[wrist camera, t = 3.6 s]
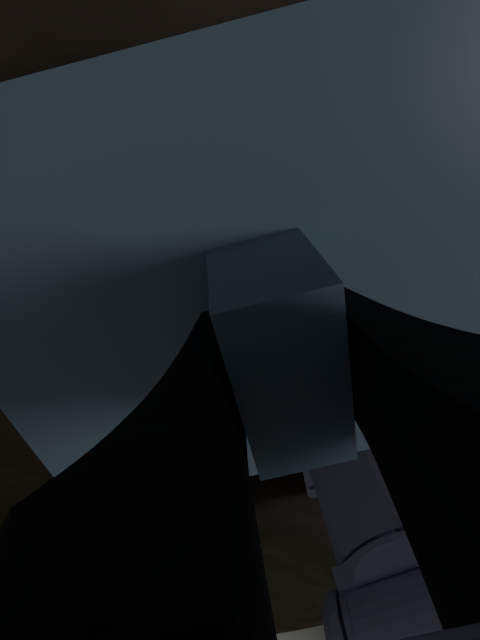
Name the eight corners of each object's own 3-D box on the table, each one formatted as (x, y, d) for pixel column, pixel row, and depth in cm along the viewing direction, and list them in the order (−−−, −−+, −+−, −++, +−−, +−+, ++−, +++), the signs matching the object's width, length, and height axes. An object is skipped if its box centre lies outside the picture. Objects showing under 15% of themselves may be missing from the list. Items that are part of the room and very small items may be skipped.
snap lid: (490, 380, 16) (612, 496, 11) (95, 471, 16) (52, 618, 12) (568, -54, 9) (1001, -242, 4) (-135, 132, 9) (-480, 159, 5)
